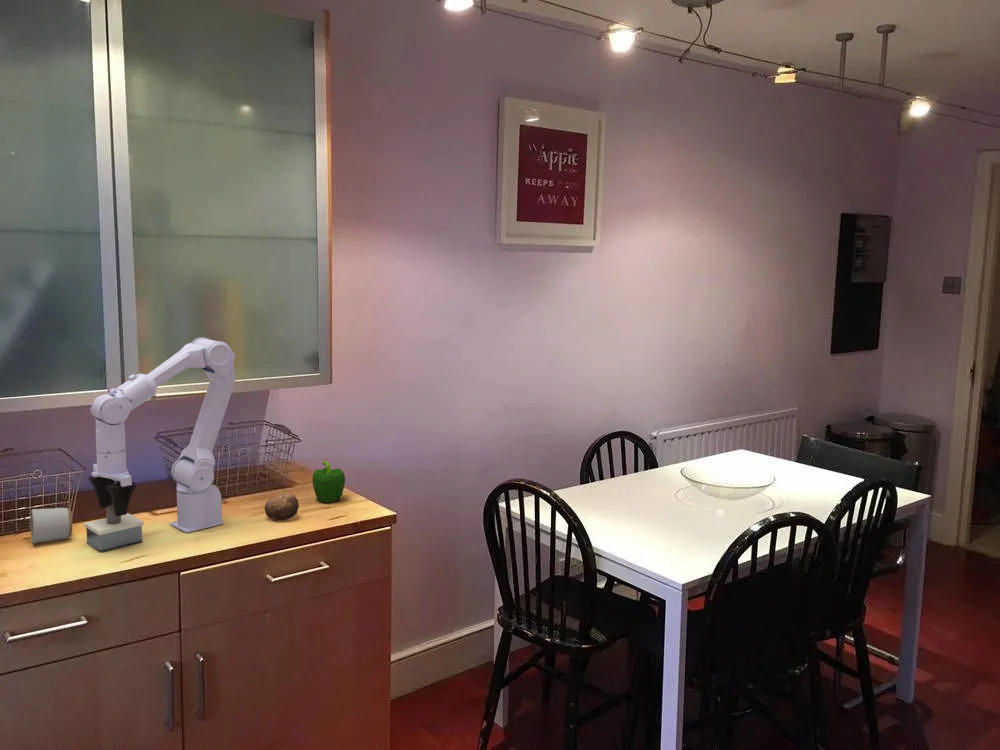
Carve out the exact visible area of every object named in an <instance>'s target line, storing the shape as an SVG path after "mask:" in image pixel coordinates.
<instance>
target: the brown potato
mask: <svg viewBox="0 0 1000 750" xmlns="http://www.w3.org/2000/svg"><path fill="white" fill-rule="evenodd" d="M299 508H300V506H299V501H298V499H297V497H296V495H294V494H292V493H290V492H289V493H280V494H277V495H275V496H274V495H273V496H272V497H270V498H269V499H268V500H266V502H265V505H264V511H265V515H266V517H268V518H269V519H270V520H273V521H275V522H285V521H288V520H290V519H293V518H294V516H296V514H297V513H298V511H299Z"/></svg>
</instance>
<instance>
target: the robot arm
mask: <svg viewBox="0 0 1000 750" xmlns="http://www.w3.org/2000/svg"><path fill="white" fill-rule="evenodd" d="M235 357H236V355H235V353H234V351H233V350H232V347H230V346H229V344H227V343H226V342H225V341H222V340H220V341H219V340H214V339H213V340H212V339H210V338H207V337H197V338H195V339H194V340H193V341H192V342H189V343H187V344H184V346H183V347H181V349H180V350H179V351H177V352H175V353H174V355H172V356H171V357H169V358H168V359H167V360H165V361H164V362H162V363H161V364H159V365H158V366H157V367H156V368H154V369H153V370H151V371H150V372H149V373H148V374H146V373H137V374H131V375H130V376H128V377H127V378H128V380H127V381H125V382H123V384H121V385H119V386H117V387H116V388H114V387H113V388H111V389H109V394H101V395H99V396H97V397H96V398H95V399H94V401H93V402H92V404H91V407H90V408H89V411H90V414H91V415H92V416H93V417H94V419H95V445H96V446H95V447H96V448H95V449H96V463H93V464H92V468H93V469H92V471H91V475H90V476H89V477H88V481H89V482H90V484H91V486H92V487H93V489H94V491H95V494H96V497H97V502H98V504H99V507H100V508H101V509H105V508H106V507H107V506H110V505H113V507H114V512H115V515H116V516H122V515H126V514H127V513H128V509H129V504H130V500H131V498H132V495H133V493H134V491H135V489H136V488H137V483H136V482H133V481H132V476H131V475H130V473H129V470H128V468H127V454H126V450H127V449H126V429H125V421H126V420H128V417H129V416H130V415H129V414H130V412H131V411H133V410H135V409H137V407H139V406H140V405H142V404H144V403H145V402H146V401H148V400H150V399H151V398H152V397H154V396H155V395H156V393H157V388H158V387H159V386H161V385H162V384H165V382H168V381H169V380H171V379H172V378H173V377H176V376H177V375H179V374H180V373H182V372H184V371H186V370H187V369H191V368H192V369H194V368H195V369H199V368H200V369H202V371H203V372H204V373H205V375H206V377H207V379H208V380H209V383H208V386H207V390H206V391H205V392H206V393H205V395H204V398H203V402H202V405H201V407H200V409H199V413H198V417H197V420H196V422H195V425H194V428H193V431H192V434H191V438H190V441H189V444H188V445H187V446H186V447H185V448H184V449H182V451H181V452H180V456H179V457H178V458H177V460H176V461H175V462H174V463H173V465H172V467H171V476H172V478H173V480H174V481H175V482H176V505H177V506H176V512H177V513H176V515H177V516H176V517H177V518H176V519H177V520H175V521H171V522H169V525H170V526H172V527H174V528H176V529H177V530H180V531H182V532H183V533H185V534H188V533H191V532H196V531H199V530H203V529H208V528H212V527H215V526H219V525H223V524H224V521H223V516H222V515H223V514H222V513H223V511H222V508H223V507H222V494H221V492H220V489H219V488H218V486H217V485H215V484H213V483H214V480H215V472H214V470H215V469H214V468H215V465H216V460H215V456H214V454H213V450H214V448H215V445H216V442H217V439H218V436H219V435H218V434H219V432H220V431H221V430H220V429H221V426H222V424H223V420H224V416H225V413H226V411H227V408H228V405H229V402H230V399H231V396H232V393H233V391H234V387H235V383H236V379H237V378H236V371H235V364H234V361H235Z"/></svg>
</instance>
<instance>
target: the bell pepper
mask: <svg viewBox="0 0 1000 750" xmlns="http://www.w3.org/2000/svg"><path fill="white" fill-rule="evenodd" d="M321 464H322V466H325V467H323V468H321V469H314V473H313V475H312V487H313V491H314V494H315V496H316V498H317V500H318V501H319V502H321V503H331V502H334V501H338V500H340V499H341V498H342V497H343V492H344V490H345V489H344V488H345V483H346V476H345V473H344V471H342V469H341V468H335V469H331V465H330V463H329V462H328V461H322V462H321Z"/></svg>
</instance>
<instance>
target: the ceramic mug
mask: <svg viewBox="0 0 1000 750" xmlns="http://www.w3.org/2000/svg"><path fill="white" fill-rule="evenodd" d="M29 519H30V539H31V543H32V544H34V545H35V544H39V543H40V544H43V543H49V542H54V541H61V540H62V541H63V540H67V539H69V538H71V537H72V535H73V515H72V511H71V509H70V508H67V507H53V508H33V509H31V511H30V518H29Z"/></svg>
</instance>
